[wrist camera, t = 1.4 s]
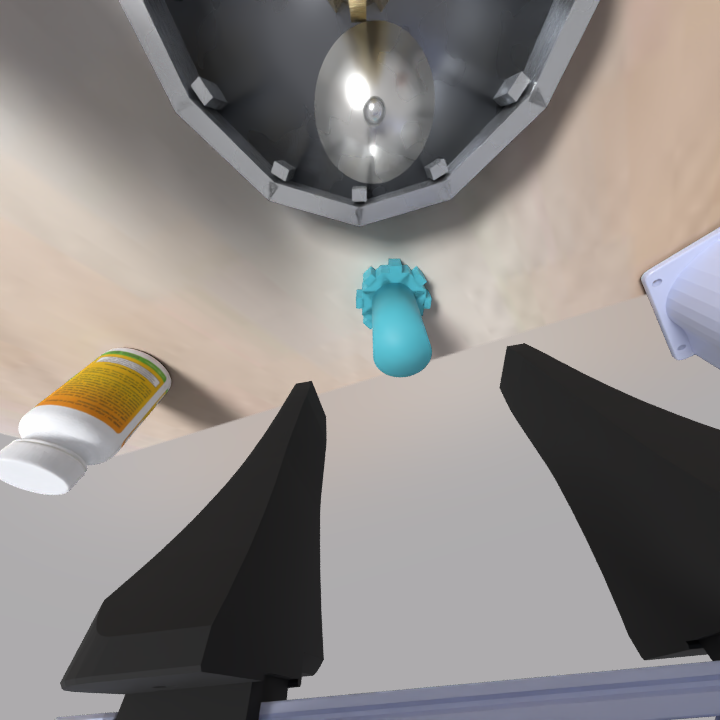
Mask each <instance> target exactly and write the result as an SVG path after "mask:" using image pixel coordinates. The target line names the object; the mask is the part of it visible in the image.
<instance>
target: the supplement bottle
mask: <svg viewBox="0 0 720 720" xmlns="http://www.w3.org/2000/svg"><path fill="white" fill-rule="evenodd" d="M170 386H171V378H170V375H169V373H168V371H167V370H166V369H165V367H164V366H163V365H162V364H161V363H160V362H158V361H157V360H156V359H155V358H153V357H152V356H150V355H148V354H146V353H144V352H141V351H138V350H135V349H130V348H114V349H111V350H108V351H107V352H105V353H104V354H102V355H101V356H100V357H98V358H97V359H96V360H94V361H93V362H92V363H91V364H89V365H88V366H87V367H86V368H84V369H83V370H82V371H80V372H79V373H78V374H77V375H75V376H74V377H73V378H71V379H70V380H69V381H68V382H66V383H65V384H64V385H62V386H61V387H60V388H59V389H57V390H56V391H55V392H53V393H52V394H51V395H49V396H48V397H47V398H46V399H44V400H43V401H42V402H40V403H39V404H38V405H36V406H35V407H34V408H33V409H31V410H30V411H29V412H28V413H27V414H25V415H24V416H23V418H22V419H21V421H20V423H19V433H20V435H21V437H22V439H17V440H14V441H13V442H11V443H10V444H9V445H7V446H6V447H5V448H3V449H2V450H1V451H0V480H2V481H4V482H6V483H8V484H11V485H12V486H15V487H18V488H20V489H24V490H27V491H31V492H35V493H40V494H47V495H60V494H64V493H67V492H68V491H69V490H71V488H72V487H73V486H74V485H75V484H76V483H77V482H78V481H79V480H80V479H81V478H82V477H83V476H84V474H85V472H86V471H87V465H95V464H100V463H103V462H105V461H107V460H109V459H111V458H112V457H113V456H114V455H115V454H116V453H117V452H118V451H119V450H120V449H121V448H122V446H123V445H124V444H125V443H126V441H127V440H128V439H129V438H130V437H131V435H132V434H133V433H134V432H135V431H136V429H137V428H138V427H139V426H140V425H141V423H142V422H143V421H144V420H145V419H146V417H147V416H148V415H149V414H150V413H151V411H152V410H153V409H154V408H155V407H156V405H157V404H158V403H159V402H160V400H161V399H162V398H163V397H164V396H165V394H166V393H167V392H168V390H169V389H170Z"/></svg>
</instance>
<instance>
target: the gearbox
mask: <svg viewBox="0 0 720 720" xmlns="http://www.w3.org/2000/svg"><path fill="white" fill-rule="evenodd" d="M599 1H600V0H119V2H120V4H121V6H122V8H123V10H124V12H125V14H126V16H127V18H128V20H129V22H130V24H131V26H132V28H133V30H134V32H135V34H136V36H137V38H138V40H139V42H140V43H141V45H142V47H143V49H144V51H145V53H146V55H147V57H148V59H149V61H150V63H151V65H152V67H153V69H154V71H155V73H156V75H157V77H158V79H159V81H160V83H161V85H162V87H163V89H164V91H165V92H166V94H167V96H168V98H169V100H170V102H171V104H172V106H173V108H174V110H175V112H176V113H177V114H178V115H179V116H180V117H181V118H182V119H183V120H184V121H185V122H186V123H187V124H188V125H190V126H191V127H192V128H193V129H194V130H195V131H196V132H197V133H198V134H199V135H200V136H201V137H202V138H203V139H204V140H205V141H206V142H207V143H208V144H210V145H211V146H212V147H213V148H214V149H215V150H216V151H217V152H218V153H219V154H220V155H221V156H222V157H223V158H224V159H225V160H226V161H227V162H229V163H230V164H231V165H232V166H233V167H234V168H235V169H236V170H237V171H238V172H239V173H240V174H241V175H242V176H243V177H244V178H245V179H246V180H248V181H249V182H250V183H251V184H252V185H253V186H254V187H255V188H256V189H257V190H258V191H259V192H260V193H261V194H262V195H263V196H264V197H265V198H266V199H268V201H272V202H275V203H279V204H282V205H286V206H289V207H293V208H296V209H300V210H303V211H307V212H310V213H314V214H317V215H321V216H324V217H328V218H331V219H334V220H338V221H341V222H345V223H348V224H352V225H355V226H359V227H360V226H363V225H367V224H370V223H373V222H377V221H380V220H383V219H387V218H390V217H393V216H397V215H400V214H404V213H407V212H410V211H414V210H417V209H420V208H424V207H427V206H430V205H434V204H437V203H441V202H444V201H447V200H451V199H452V198H453V197H454V196H455V195H456V194H457V193H458V192H459V191H460V190H461V189H462V188H463V187H464V186H465V185H466V184H467V183H468V182H469V181H470V180H472V179H473V178H474V177H475V176H476V175H477V174H478V173H479V172H480V171H481V170H482V169H483V168H484V167H485V166H486V165H487V164H488V163H489V162H490V161H491V160H492V159H493V158H494V157H495V156H496V155H497V154H498V153H500V152H501V151H502V150H503V149H504V148H505V147H506V146H507V145H508V144H509V143H510V142H511V141H512V140H513V139H514V138H515V137H516V136H517V135H518V134H519V133H520V132H521V131H522V130H523V129H524V128H525V127H527V126H528V125H529V124H530V123H531V122H532V121H533V120H534V119H535V118H536V117H537V116H538V115H539V114H540V113H541V112H542V111H543V110H544V109H545V108H546V107H547V105H548V103H549V101H550V99H551V97H552V95H553V93H554V91H555V89H556V87H557V85H558V83H559V81H560V79H561V77H562V75H563V73H564V71H565V69H566V67H567V65H568V63H569V61H570V59H571V57H572V55H573V53H574V51H575V49H576V47H577V45H578V43H579V41H580V39H581V37H582V35H583V33H584V31H585V29H586V27H587V25H588V23H589V21H590V19H591V17H592V15H593V13H594V11H595V9H596V7H597V5H598V3H599Z"/></svg>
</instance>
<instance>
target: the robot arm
mask: <svg viewBox="0 0 720 720" xmlns="http://www.w3.org/2000/svg"><path fill="white" fill-rule="evenodd" d="M655 280H656V281H655ZM641 281H642V284H643V286H644V289H645V291H646V293H647V296H648V298H649V300H650V303H651V306H652V308H653V310H654V313H655V315H656V317H657V320H658V323H659V325H660V327H661V330H662V332H663V335H664V337H665V340H666V342H667V344H668V347H669V349H670V352H671V354H672V356H673V357H674V358H675V359H677V360H683V359H686V358H688V357H691V356H693V355H695V354H696V355H697V356H699V357H701V358H702V359H704V360H705V361H707V362H709V363H710V364H712V365H714V366H715V367H717V368H718V369H720V227H719V228H717V229H716V230H714V231H712V232H711V233H709V234H707V235H706V236H704V237H702V238H701V239H699V240H697V241H696V242H694V243H692V244H691V245H689V246H687V247H686V248H684V249H682V250H681V251H679V252H677V253H676V254H674V255H672V256H671V257H669V258H667V259H666V260H664V261H662V262H661V263H659V264H657V265H656V266H654V267H652V268H651V269H649V270H647V271H646V272H645V273H644V274H643V275H642V278H641ZM654 281H655V282H654ZM653 282H654V283H653ZM500 389H501V392H502V394H503V396H504V398H505V400H506V402H507V404H508V406H509V408H510V410H511V412H512V413H513V415H514V417H515V418H516V420H517V421H518V423H519V424H520V425H521V427H522V429H523V430H524V432H525V433H526V435H527V436H528V438H529V439H530V441H531V442H532V444H533V445H534V447H535V448H536V450H537V451H538V453H539V454H540V456H541V457H542V459H543V460H544V462H545V463H546V464H547V466H548V468H549V470H550V471H551V473H552V474H553V476H554V478H555V479H556V481H557V483H558V485H559V487H560V489H561V491H562V493H563V494H564V496H565V498H566V500H567V502H568V504H569V506H570V507H571V509H572V511H573V514H574V515H575V517H576V520H577V522H578V523H579V526H580V528H581V529H582V532H583V533H584V536H585V537H586V540H587V542H588V544H589V546H590V548H591V550H592V552H593V554H594V557H595V558H596V561H597V563H598V565H599V567H600V570H601V571H602V574H603V576H604V578H605V581H606V583H607V585H608V588H609V590H610V592H611V594H612V597H613V599H614V601H615V604H616V606H617V608H618V611H619V613H620V615H621V618H622V620H623V623H624V625H625V628H626V630H627V633H628V635H629V637H630V639H631V640H632V642H633V644H634V645H635V647H636V649H637V650H638V652H639V654H640V656H641V657H642V658H643V659H644V660H653V659H663V658H674V657H685V656H695V655H706V654H708V655H709V656H710V658H711V659H712V661H711V662H700V663H689V664H678V665H668V666H657V667H646V668H634V669H623V670H612V671H602V672H590V673H581V674H580V673H579V674H568V675H557V676H546V677H535V678H524V679H514V680H502V681H492V682H482V683H469V684H458V685H447V686H436V687H426V688H414V689H404V690H393V691H382V692H371V693H361V694H349V695H338V696H327V697H316V698H306V699H295V700H287V691H288V688H292V687H300V685H301V678H302V677H303V676H313V675H314V674H315V673H316V672H317V670H318V669H319V667H320V666H321V664H322V662H323V660H324V657H323V637H322V615H321V585H320V584H321V583H320V504H321V492H322V481H323V472H324V462H325V451H326V416H325V413H324V411H323V408H322V406H321V403H320V401H319V398H318V396H317V393H316V391H315V388H314V386H313V383H312V381H309V382H303V383H298V384H296V385H295V386H294V388H293V389H292V391H291V393H290V394H289V396H288V398H287V399H286V401H285V403H284V404H283V406H282V407H281V409H280V411H279V412H278V414H277V416H276V417H275V419H274V420H273V422H272V423H271V425H270V426H269V428H268V430H267V431H266V433H265V434H264V436H263V437H262V439H261V440H260V441H259V443H258V444H257V445H256V447H255V448H254V450H253V451H252V452H251V454H250V455H249V456H248V458H247V459H246V461H245V462H244V463H243V464H242V466H241V467H240V468H239V469H238V471H237V472H236V473H235V474H234V475H233V477H232V478H231V479H230V480H229V482H228V483H227V484H226V485H225V486H224V487H223V488H222V489H221V490H220V492H219V493H218V494H217V495H216V496H215V497H214V498H213V499H212V500H211V501H210V502H209V504H208V505H207V506H206V507H205V508H204V509H203V510H202V511H201V512H200V513H199V515H197V516H196V517H195V518H194V519H193V520H192V521H191V522H190V523H189V524H188V525H187V526H186V527H185V528H184V529H183V530H182V531H181V532H180V533H179V534H178V535H177V536H176V537H175V538H174V539H173V540H172V541H171V542H170V543H169V544H167V545H166V546H165V547H164V549H162V550H161V551H160V552H159V553H158V554H157V555H156V556H155V557H153V559H151V560H150V561H149V562H148V563H147V564H146V565H145V566H143V567H142V568H141V569H140V570H139V571H138V572H136V573H135V574H134V575H133V576H132V577H131V578H130V579H128V580H127V581H126V582H125V583H124V584H123V585H121V586H120V587H119V588H118V589H117V590H116V591H115V592H113V593H112V594H111V595H110V596H109V597H108V598H106V599H105V600H104V602H103V603H102V605H101V607H100V609H99V611H98V613H97V615H96V617H95V618H94V620H93V622H92V624H91V626H90V628H89V630H88V632H87V634H86V635H85V637H84V639H83V641H82V643H81V645H80V647H79V649H78V650H77V652H76V654H75V656H74V658H73V660H72V662H71V664H70V666H69V667H68V669H67V671H66V673H65V675H64V677H63V679H62V681H61V682H60V684H61V687H62V689H63V690H65V691H71V692H87V693H109V694H110V693H111V694H125V697H124V699H123V702H122V704H121V707H120V709H119V712H116V713H115V712H114V713H99V714H87V715H77V716H66V717H57V718H56V719H55V720H672V719H686V718H699V717H711V716H716V718H715V720H720V430H719V429H715V428H713V427H710V426H707V425H704V424H701V423H698V422H695V421H692V420H690V419H687V418H685V417H682V416H679V415H677V414H674V413H672V412H669V411H667V410H664V409H661V408H659V407H656V406H654V405H651V404H649V403H646V402H644V401H641V400H639V399H637V398H635V397H632V396H630V395H628V394H625V393H623V392H621V391H619V390H617V389H615V388H612V387H610V386H608V385H606V384H604V383H602V382H600V381H598V380H596V379H594V378H591V377H589V376H587V375H585V374H583V373H581V372H579V371H577V370H576V369H574V368H572V367H570V366H568V365H566V364H564V363H562V362H560V361H558V360H556V359H554V358H552V357H551V356H549V355H547V354H545V353H543V352H541V351H539V350H537V349H535V348H533V347H531V346H529V345H527V344H525V343H524V344H519V345H513V346H507V350H506V355H505V360H504V366H503V372H502V377H501V383H500Z"/></svg>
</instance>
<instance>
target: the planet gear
mask: <svg viewBox="0 0 720 720" xmlns="http://www.w3.org/2000/svg"><path fill="white" fill-rule="evenodd" d="M426 282H427V281H426V279H425V277H424V274H423V273H422V272H421V271H420V269H419V268H418V267H417V266H416V267H415V268H414V269H413V270H411V269H410V268H409V267H408V266H407V265H402V264H401V261H400V259H389V263H388V265H381V266H380V267H379V268H377V269H376V270H375V269H374V268H373V267H372V266H371V267H370V268H369V269H368V270H367V271H366V272H365V273H364V274H363V283H362V290H357V294H356V308H362V315H363V323H364V324H365V325H366V326H367V327H368V328H369V329H372V328H373V358H374V362H375V364H376V366H377V367H378V369H379V370H381V371H382V372H383V373H385V374H387V375H390V376H393V377H408V376H411V375H414V374H416V373H418V372H420V371H421V370H423V369H424V368H425V367H426V366H427V364H428V363H429V361H430V359H431V356H432V348H431V345H430V342H429V339H428V336H427V332H426V329H425V326H424V323H423V320H422V317H421V316H422V315H423V311H424V309H430V306H431V299H432V298H431V296H430V294H429V291H428V290H426V289H425V287H424V284H425V283H426Z"/></svg>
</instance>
